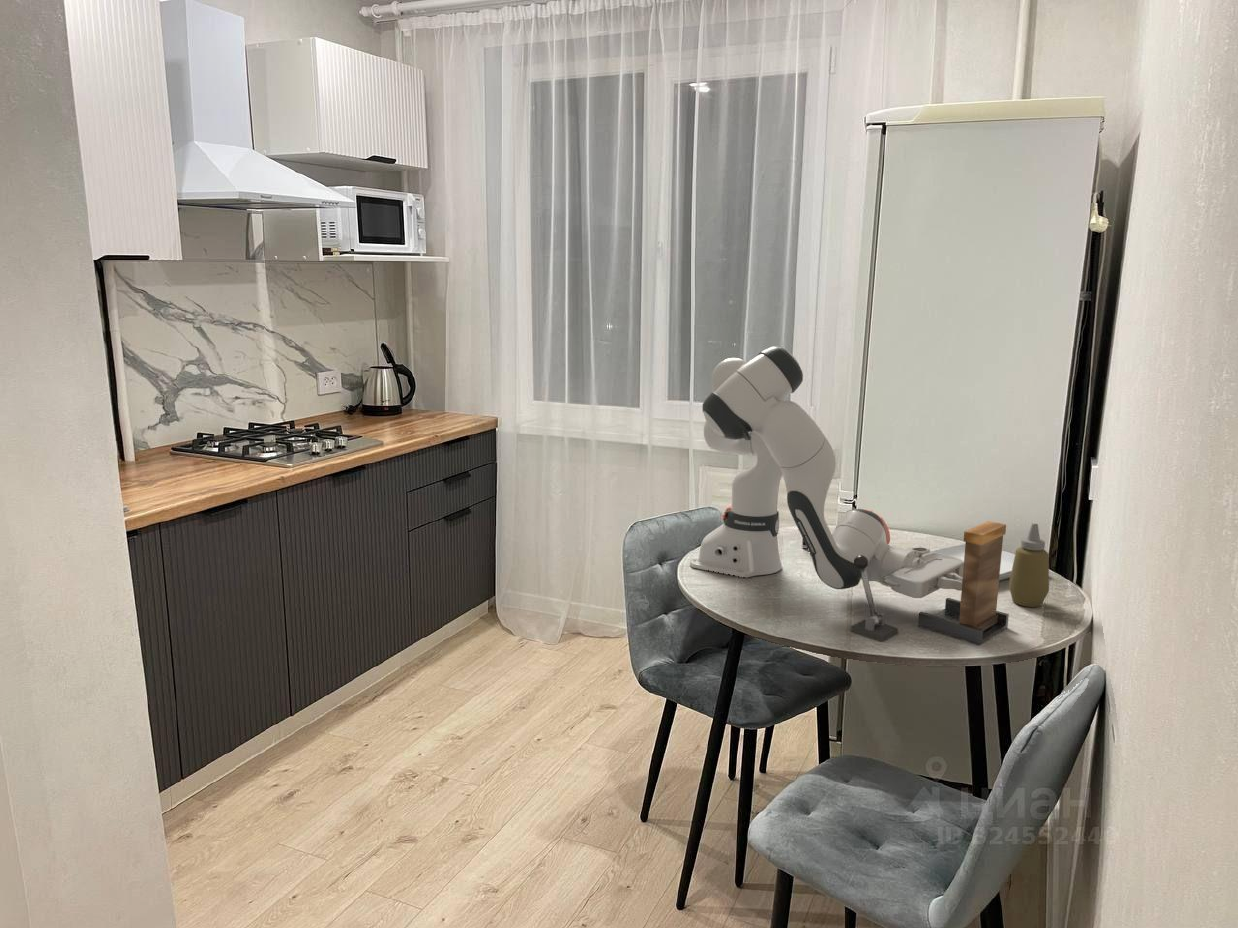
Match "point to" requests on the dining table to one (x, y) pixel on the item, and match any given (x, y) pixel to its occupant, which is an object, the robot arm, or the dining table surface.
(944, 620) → the paddle track
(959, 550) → the salad plate
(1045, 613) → the dining table surface
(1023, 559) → the squeeze bottle
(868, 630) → the lever base
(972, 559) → the walnut paddle
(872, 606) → the toggle lever
